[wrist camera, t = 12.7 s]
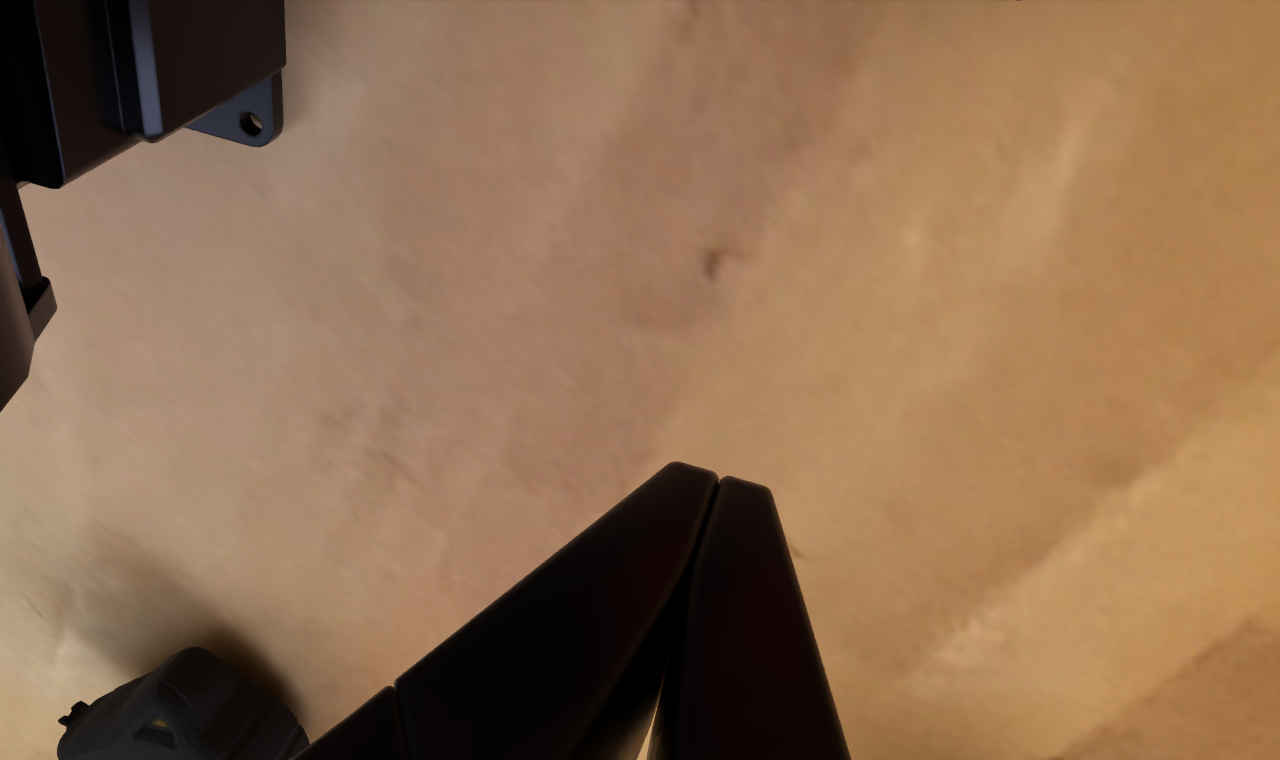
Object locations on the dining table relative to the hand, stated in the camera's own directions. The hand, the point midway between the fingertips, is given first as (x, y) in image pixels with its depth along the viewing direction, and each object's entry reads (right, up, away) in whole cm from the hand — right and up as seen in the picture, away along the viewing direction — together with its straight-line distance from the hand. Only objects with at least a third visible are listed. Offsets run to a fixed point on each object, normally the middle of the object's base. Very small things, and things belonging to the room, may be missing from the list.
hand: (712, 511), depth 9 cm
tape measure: (-15, -9, +26) cm, 31 cm away
